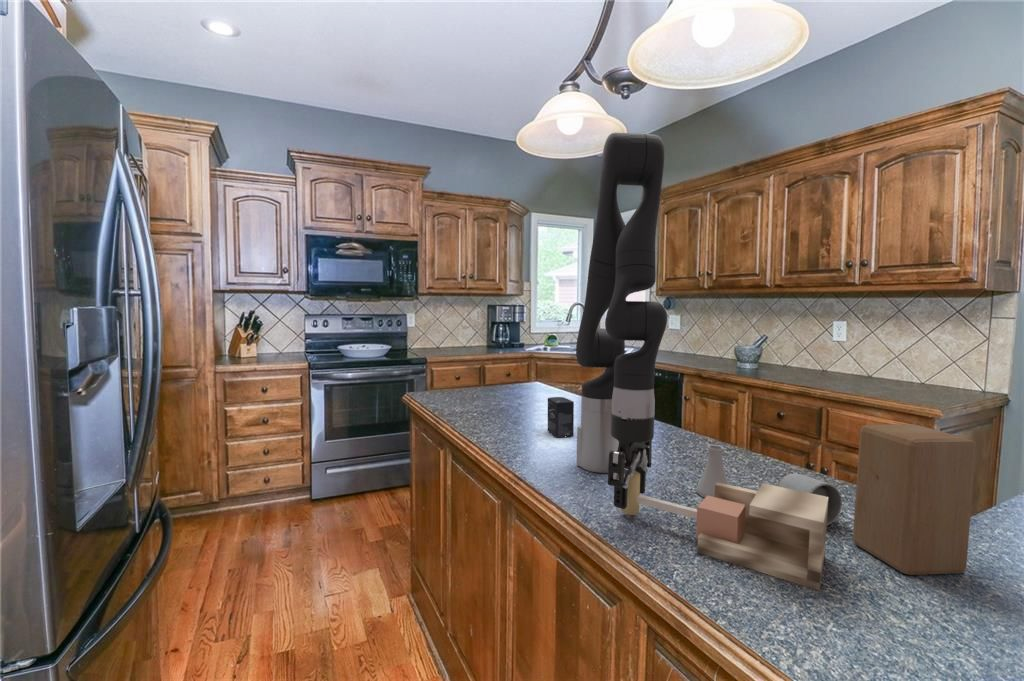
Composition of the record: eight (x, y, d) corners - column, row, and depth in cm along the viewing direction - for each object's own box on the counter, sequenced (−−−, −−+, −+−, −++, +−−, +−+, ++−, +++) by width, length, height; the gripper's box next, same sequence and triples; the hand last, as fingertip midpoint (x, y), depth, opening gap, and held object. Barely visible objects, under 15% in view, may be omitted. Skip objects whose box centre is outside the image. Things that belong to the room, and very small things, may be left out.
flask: (737, 503, 92) (739, 453, 91) (698, 499, 93) (700, 450, 93) (727, 489, 99) (730, 443, 98) (692, 486, 101) (693, 440, 100)
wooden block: (849, 543, 76) (857, 423, 75) (905, 541, 77) (914, 422, 76) (905, 578, 66) (915, 440, 65) (969, 575, 67) (980, 440, 66)
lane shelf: (697, 552, 73) (699, 493, 72) (715, 526, 82) (717, 473, 81) (819, 590, 63) (823, 522, 62) (824, 557, 72) (828, 497, 71)
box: (573, 437, 138) (574, 401, 137) (556, 438, 136) (556, 401, 136) (563, 430, 146) (564, 396, 145) (546, 431, 144) (547, 396, 143)
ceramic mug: (803, 505, 91) (805, 467, 91) (842, 524, 83) (843, 482, 83) (757, 511, 89) (758, 471, 88) (792, 531, 81) (793, 487, 80)
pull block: (614, 514, 84) (615, 476, 83) (628, 503, 88) (629, 467, 88) (736, 550, 72) (738, 505, 71) (744, 535, 76) (746, 493, 76)
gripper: (628, 403, 92) (626, 483, 93) (595, 415, 81) (593, 507, 82) (666, 408, 87) (663, 492, 88) (637, 422, 76) (634, 519, 77)
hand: (629, 499), depth 85 cm, fingers open, 8 cm apart
